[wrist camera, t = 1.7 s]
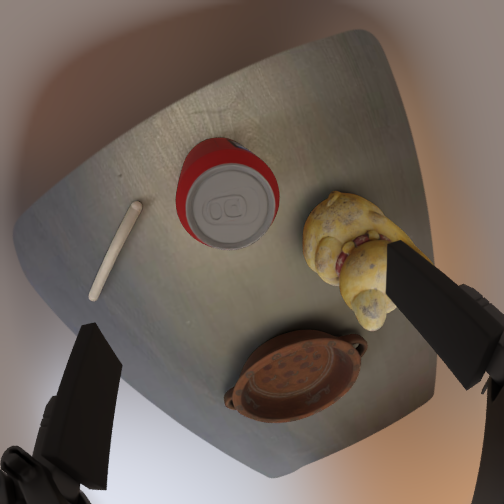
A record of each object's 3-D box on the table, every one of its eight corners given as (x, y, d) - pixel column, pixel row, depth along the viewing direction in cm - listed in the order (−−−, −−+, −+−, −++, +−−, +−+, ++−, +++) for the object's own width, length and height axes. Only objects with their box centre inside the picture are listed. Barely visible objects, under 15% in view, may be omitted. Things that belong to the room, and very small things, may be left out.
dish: (191, 358, 38) (193, 387, 34) (345, 285, 37) (362, 308, 33) (248, 416, 46) (253, 440, 42) (368, 361, 45) (381, 382, 41)
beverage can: (256, 198, 30) (291, 249, 20) (189, 210, 30) (186, 269, 19) (247, 131, 27) (281, 144, 17) (176, 143, 27) (162, 164, 16)
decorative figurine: (307, 269, 35) (365, 360, 22) (277, 210, 31) (336, 290, 18) (376, 229, 34) (458, 297, 21) (354, 168, 31) (451, 216, 17)
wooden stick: (88, 294, 32) (86, 300, 31) (134, 197, 28) (132, 201, 27) (97, 299, 32) (95, 304, 31) (145, 203, 28) (143, 207, 27)
